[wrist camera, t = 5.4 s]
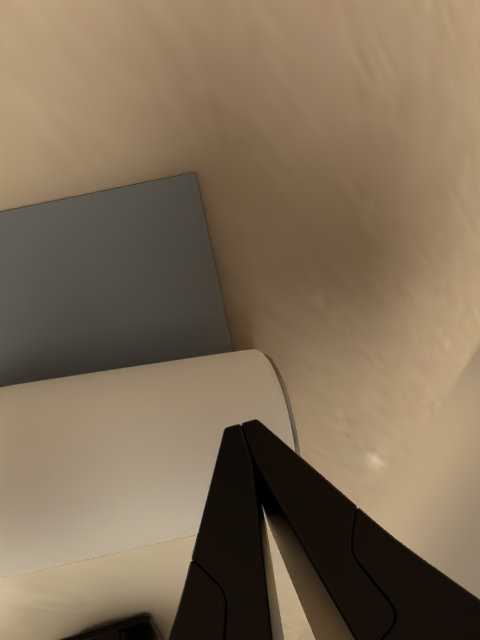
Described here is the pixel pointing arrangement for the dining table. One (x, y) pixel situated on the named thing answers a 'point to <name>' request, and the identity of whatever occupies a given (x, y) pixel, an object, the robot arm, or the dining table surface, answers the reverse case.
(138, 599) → the dining table surface
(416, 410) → the dining table surface
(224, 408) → the can
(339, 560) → the robot arm
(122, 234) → the mat
